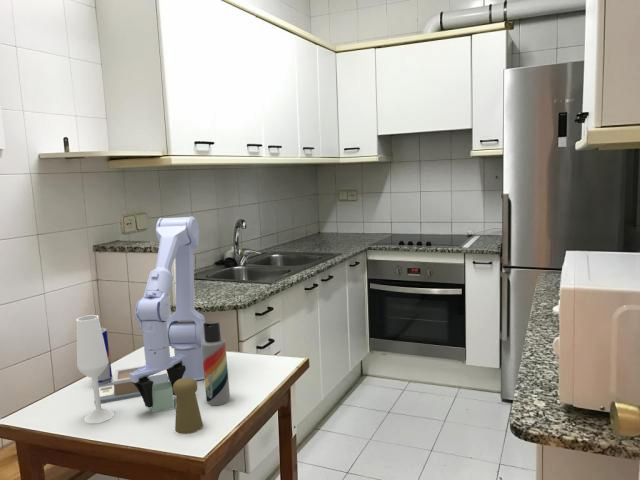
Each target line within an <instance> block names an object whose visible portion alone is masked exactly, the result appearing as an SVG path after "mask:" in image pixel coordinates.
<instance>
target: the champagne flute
mask: <svg viewBox="0 0 640 480" xmlns="http://www.w3.org/2000/svg"><path fill="white" fill-rule="evenodd" d="M75 323H76V362H77V363H76V364H77V365H76V366H77V369H78V371H79V372H80V373H81V374H83V375H84V376H86V377H87V378H90V379H91V380H92V381H91V383H92V389H93V397H94V401H95V402H94V405H95V406H94V407H95V410H93V411H92V412H91V413H89V414H88V415H86V416H85V418H84V420H83V421H84V423H87V424H98V423H103V422H106V421H108V420H110V419H112V418H114V416H115V412H114V411H113V410H110V409H106V408H102V403H101V402H100V394H99V386H98V378H97V377H98V376H100V375H101V373H102V372H103V371H104V370H105V369H106V367H107V365H108V357H107V352H106V348H105V343H104V339H103V334H102V330H101V328H102V326H101V323H100V319H99V315H98V314H96V315H95V314H89V315H84V316H83V315H82V316H80V317H78V318H76V319H75Z"/></svg>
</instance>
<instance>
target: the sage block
mask: <svg viewBox="0 0 640 480" xmlns="http://www.w3.org/2000/svg"><path fill="white" fill-rule="evenodd" d="M152 399H153V407H151V410H152V411H151V412H152V413H157V412H161V411H166V410H172V409H175V403H174V395H173V391H172V384H171V381H169V380H168V381H167V382H162V383H156V384H153V387H152Z"/></svg>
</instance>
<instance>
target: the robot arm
mask: <svg viewBox="0 0 640 480" xmlns="http://www.w3.org/2000/svg"><path fill="white" fill-rule="evenodd" d="M199 227H200V225H199V223H198V220H197V219H196V218H195V217H194V216H192V215H191V216H183V217H160V218H158V220H157V222H156V225H155V233H156V238H157V240H158V243H159V247H158V250H157V251H158V252H157V259H156V263H155V268H154V269H152V270H151V271H150V272H149V273H148V274H149V275H148V277H147V282H146V286H145V289H144V292H143V296H142V297H141V299H139V300H138V301H137V302H136V306H135V313H134V314H135V319H136V320H137V322H138V327H139V329H140V330H141V331H142V332H141V333H142V339H143V348H144V350H143V351H144V359H145V364H144V365H142V366H143V367H141V368H139V369H138V370H136V371H134V372H132V373H130V381H131V382H133V384H134V385H135V386H136V387H137V389H138V390H139V392H140V394H141V396H140V397H141V398H142V399H143V400H142V401H143V403H144V406H145V407H146V408H151V409H152V407H153V399H152V387H153V381H150V380H149V378H148V376H155V375H157V374H159V373H161V372H163V371H166V374H167V376H168V381H171V384H172V391H173V385H174V383H175V382H176V381H177V380H179V379H181V378H193V379H194V380H195V381H196V382H197V381H200V380H201V381H202V380H204V369H203V358H202V347H201V343H202V341H204V340H205V337H204V325H203V324H204V323H205V322H206V318H205V316H204V315H203V314H202V313H200V312H199V311H197V309H196V308H195V249H196V248H198V247H199V246H200V244H199V243H200V228H199ZM174 261H175V311H173V313H172V314H171V298H170V293H171V288H172V285H173V281H174V277H173V276H174V275H172V273H171V269H172V267H173V263H174ZM170 346H171V349H173V351H174V355H173V356H171V352H170ZM173 396H175V397H176V395H175V394H174V392H173Z"/></svg>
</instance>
